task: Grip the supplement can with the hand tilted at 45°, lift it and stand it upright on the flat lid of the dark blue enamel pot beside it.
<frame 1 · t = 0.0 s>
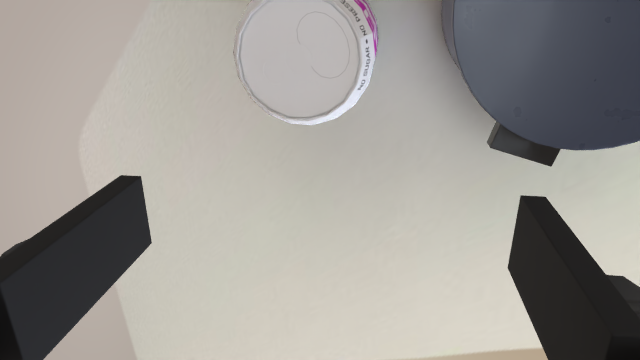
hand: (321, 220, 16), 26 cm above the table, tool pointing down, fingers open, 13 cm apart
pot: (547, 2, 36), on the table
supplement can: (329, 34, 39), on the table
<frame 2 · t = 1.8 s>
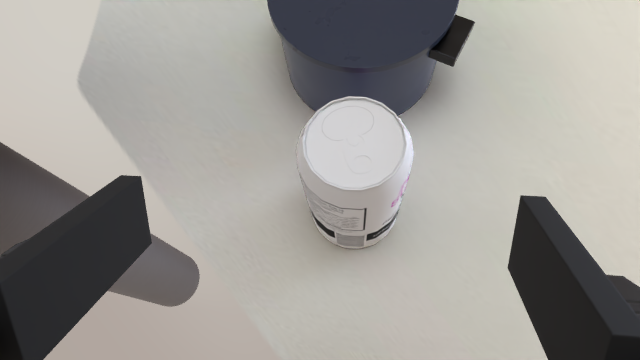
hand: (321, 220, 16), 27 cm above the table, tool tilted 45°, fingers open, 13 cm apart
pot: (360, 60, 51), on the table
supplement can: (354, 209, 45), on the table
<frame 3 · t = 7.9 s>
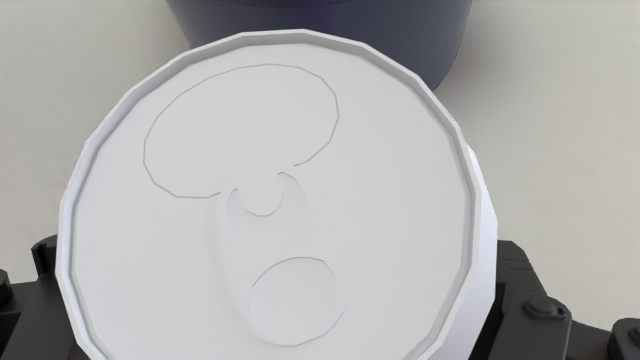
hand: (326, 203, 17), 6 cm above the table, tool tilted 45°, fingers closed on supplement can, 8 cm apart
pot: (327, 20, 28), on the table
supplement can: (330, 313, 21), on the table, touching gripper
when the fingers open (16 cm above the table, at t = 18.4 s): supplement can stays where it is, resting on pot.
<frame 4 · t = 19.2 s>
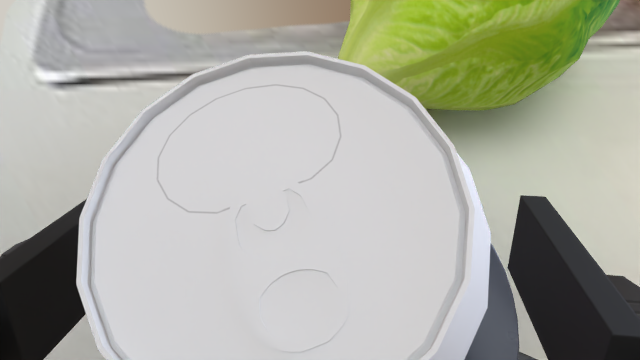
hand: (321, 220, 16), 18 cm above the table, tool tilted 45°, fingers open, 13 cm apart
pot: (342, 333, 32), on the table
supplement can: (331, 316, 22), point 11 cm above the table, touching pot
lettuce: (446, 70, 39), on the table
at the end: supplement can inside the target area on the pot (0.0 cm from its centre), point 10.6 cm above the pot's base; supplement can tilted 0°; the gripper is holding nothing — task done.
